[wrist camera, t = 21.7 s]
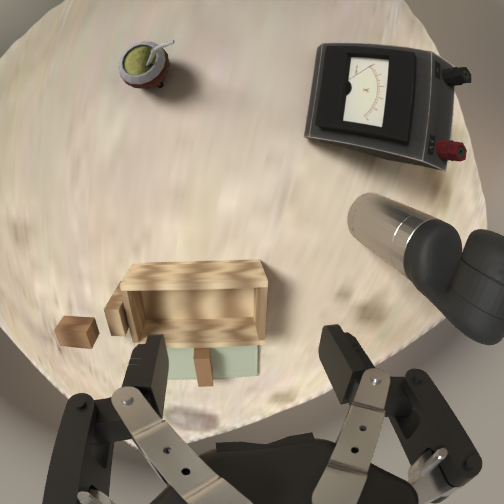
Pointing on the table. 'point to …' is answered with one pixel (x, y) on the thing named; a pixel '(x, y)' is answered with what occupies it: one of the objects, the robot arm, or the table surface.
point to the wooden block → (77, 332)
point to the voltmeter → (386, 102)
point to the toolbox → (192, 303)
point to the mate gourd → (144, 64)
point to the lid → (212, 363)
